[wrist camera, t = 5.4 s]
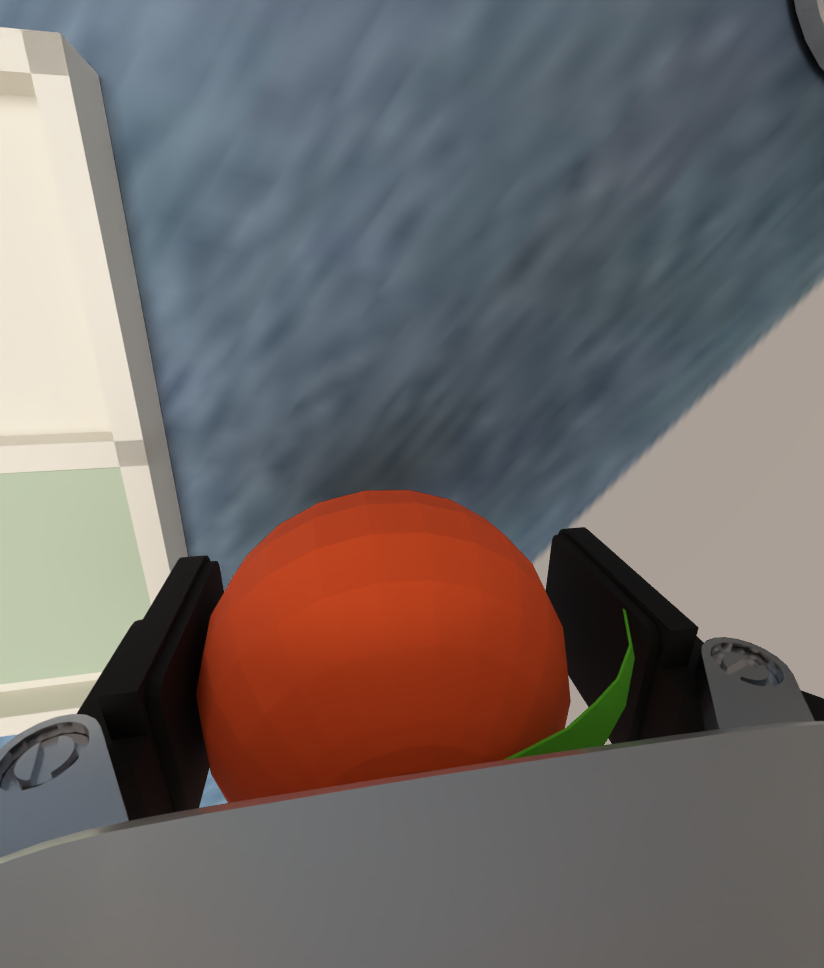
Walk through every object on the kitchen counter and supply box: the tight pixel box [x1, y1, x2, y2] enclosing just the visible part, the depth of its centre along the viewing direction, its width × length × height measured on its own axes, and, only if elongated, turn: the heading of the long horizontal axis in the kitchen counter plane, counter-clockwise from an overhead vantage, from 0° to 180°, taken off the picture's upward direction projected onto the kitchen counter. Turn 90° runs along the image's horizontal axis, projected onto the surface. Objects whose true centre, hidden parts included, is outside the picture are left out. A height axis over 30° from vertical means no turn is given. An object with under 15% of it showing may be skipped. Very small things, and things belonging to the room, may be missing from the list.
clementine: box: [196, 490, 635, 803], centre depth 9 cm, size 8×7×7 cm
